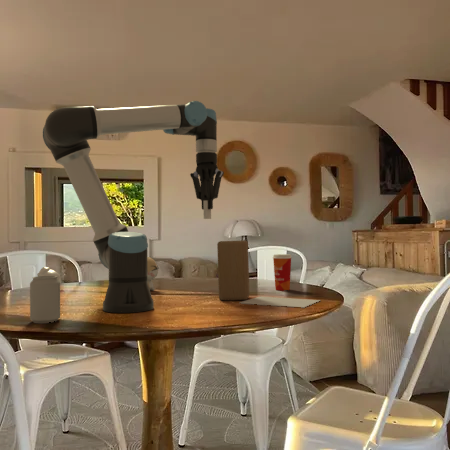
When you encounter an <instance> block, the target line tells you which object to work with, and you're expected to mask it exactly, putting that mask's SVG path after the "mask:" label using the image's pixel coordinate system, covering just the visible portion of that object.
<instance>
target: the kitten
mask: <svg viewBox="0 0 450 450" xmlns="http://www.w3.org/2000/svg"><path fill="white" fill-rule="evenodd" d="M147 267H148V276H147V277H148V286H149V289H150V292H154V291H155V289H156V288H155V284H154V282H153V280H154V279H155V278H156V277H157V276H158V273H159V269H160V268H159V266H158V265H157V262H156V260H155V259H153V258H152V257H150V256H147Z"/></svg>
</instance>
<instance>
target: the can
mask: <svg viewBox="0 0 450 450" xmlns="http://www.w3.org/2000/svg"><path fill="white" fill-rule="evenodd" d="M60 318H61V283H60V281H59V280H58V279H57V276H33V277H32V281H30V283H29V319H30V320H31V321H32V322H33V323H34V324H50V323H49V322H51V323H54V321H55V322H58V320H59V319H60Z"/></svg>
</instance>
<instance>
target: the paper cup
mask: <svg viewBox="0 0 450 450" xmlns="http://www.w3.org/2000/svg"><path fill="white" fill-rule="evenodd" d="M272 256H273V257H272V259H273V260H272V261H273V273H274V285H275V286H274V287H275V288H274V289H275V290H276V291H280V292H281V291H282V292H284V290H288V291H290V290H291V274H292V273H291V269H292V268H291V267H292V258H293V257H292V254H289V253H288V254H287V253H286V254H285V253H283V254H282V253H281V254H278V253H277V254H273V255H272Z"/></svg>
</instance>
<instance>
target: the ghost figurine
mask: <svg viewBox="0 0 450 450" xmlns="http://www.w3.org/2000/svg"><path fill="white" fill-rule="evenodd" d="M37 276H57V279H58V280H59V281H60V284H62V278H61V275H60V273H59V272H57V271H56V270H54V269H51V268H50V267H49V266H48V267H47V266H44V267H41V269H40V270H39V271H38V273H37ZM37 276H36V277H37Z"/></svg>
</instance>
